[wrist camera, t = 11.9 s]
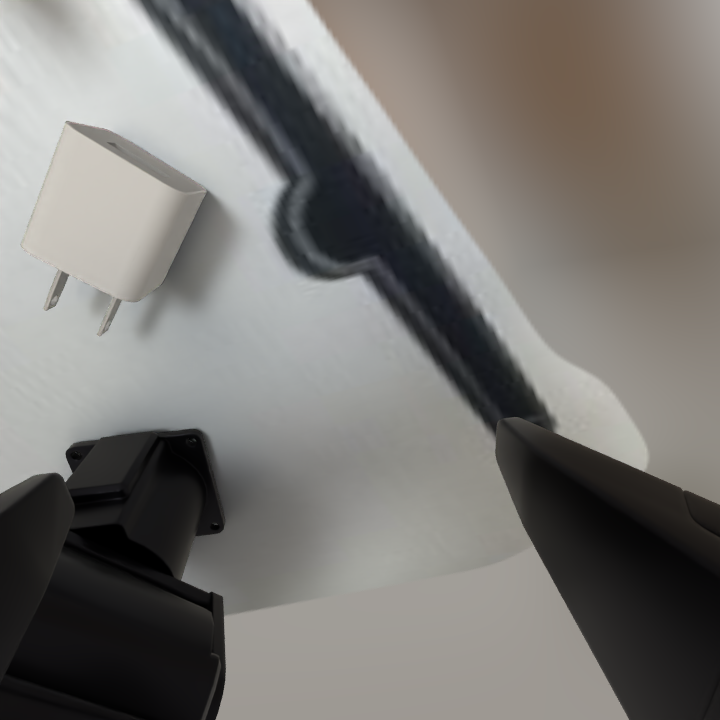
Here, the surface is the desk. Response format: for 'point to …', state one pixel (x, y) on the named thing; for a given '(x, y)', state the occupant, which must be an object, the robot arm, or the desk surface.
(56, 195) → the usb wall charger
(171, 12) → the desk surface
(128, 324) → the desk surface
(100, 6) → the desk surface
